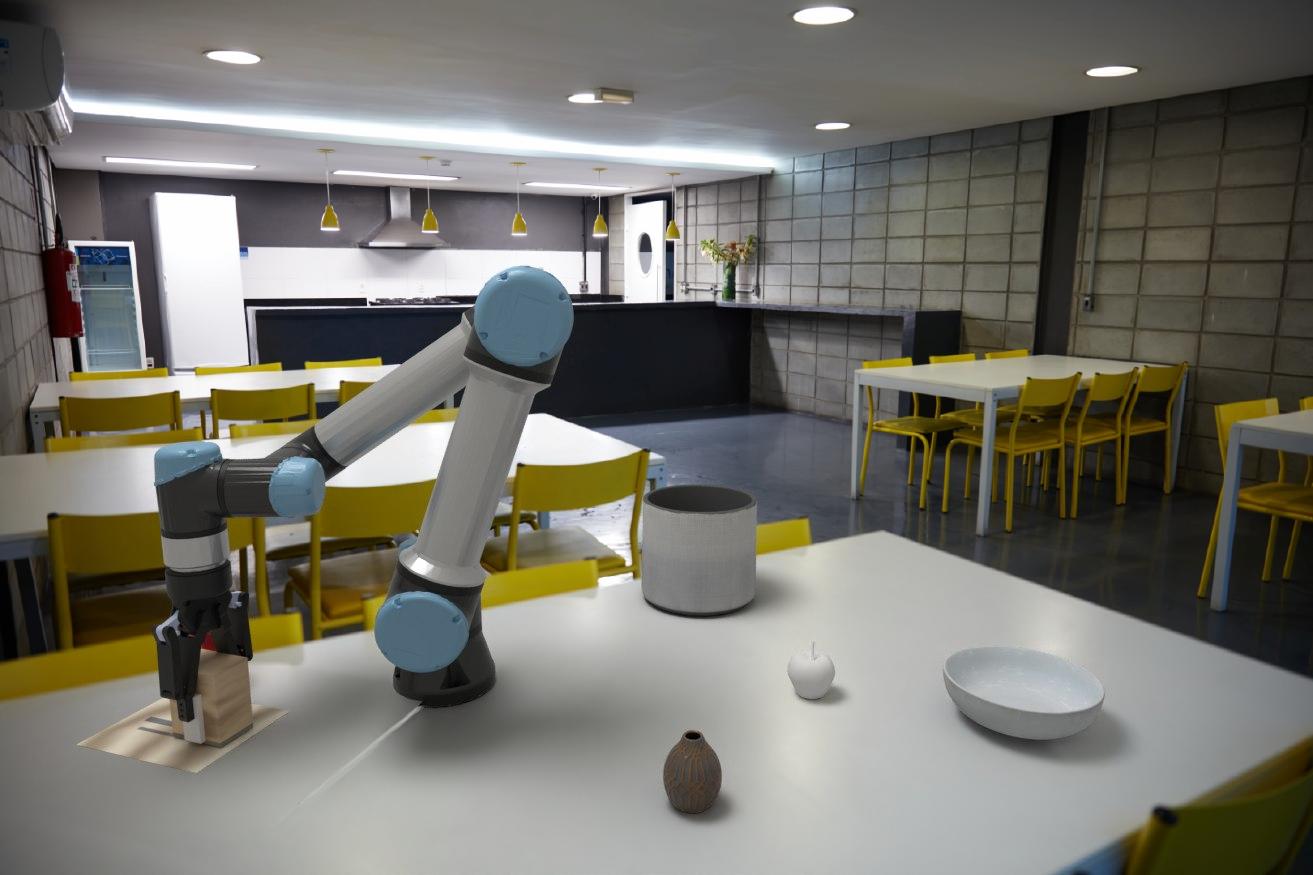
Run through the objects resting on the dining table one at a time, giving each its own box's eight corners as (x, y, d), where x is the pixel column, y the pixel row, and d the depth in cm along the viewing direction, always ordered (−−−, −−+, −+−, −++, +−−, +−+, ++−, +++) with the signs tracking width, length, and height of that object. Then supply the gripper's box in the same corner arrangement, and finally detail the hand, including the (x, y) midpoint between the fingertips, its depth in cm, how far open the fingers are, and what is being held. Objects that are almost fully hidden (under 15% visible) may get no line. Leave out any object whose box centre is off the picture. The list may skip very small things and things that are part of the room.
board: (290, 717, 120) (289, 711, 120) (197, 780, 105) (196, 772, 105) (179, 695, 126) (179, 688, 126) (77, 751, 111) (76, 744, 111)
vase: (660, 787, 104) (660, 720, 102) (716, 784, 105) (717, 718, 103) (665, 822, 97) (666, 752, 96) (725, 819, 98) (727, 749, 96)
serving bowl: (1088, 698, 127) (1092, 654, 125) (1112, 774, 107) (1117, 724, 106) (940, 676, 133) (943, 635, 132) (938, 744, 114) (941, 696, 113)
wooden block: (253, 726, 115) (247, 657, 113) (220, 747, 110) (214, 675, 108) (207, 716, 118) (200, 648, 116) (173, 736, 112) (166, 665, 111)
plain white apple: (839, 687, 129) (841, 638, 128) (827, 708, 123) (830, 657, 122) (794, 678, 132) (795, 630, 131) (780, 698, 126) (782, 648, 124)
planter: (774, 591, 169) (777, 493, 165) (721, 629, 151) (723, 520, 147) (678, 570, 181) (679, 478, 177) (619, 603, 162) (618, 501, 158)
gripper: (230, 538, 119) (245, 692, 123) (109, 583, 102) (131, 760, 106) (274, 544, 117) (287, 700, 121) (158, 590, 99) (178, 771, 104)
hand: (214, 728), depth 114 cm, fingers closed on wooden block, 5 cm apart
